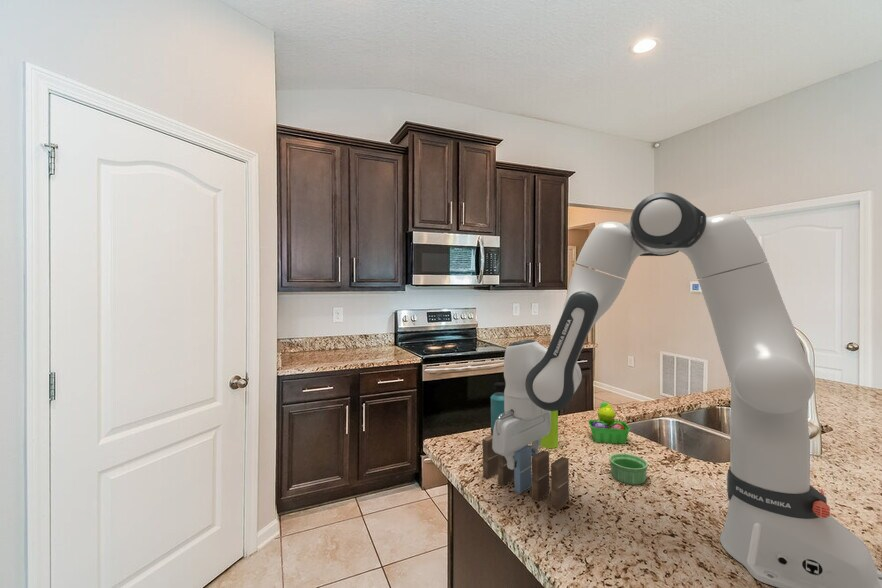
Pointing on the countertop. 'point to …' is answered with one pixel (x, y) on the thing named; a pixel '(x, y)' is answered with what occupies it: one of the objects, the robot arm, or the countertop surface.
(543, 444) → the soap dispenser
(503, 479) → the domino
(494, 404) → the beverage bottle
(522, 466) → the domino
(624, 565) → the countertop surface
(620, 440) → the fruit basket
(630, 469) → the ramekin
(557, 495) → the domino
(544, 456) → the domino
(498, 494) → the countertop surface
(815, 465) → the countertop surface
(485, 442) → the domino
